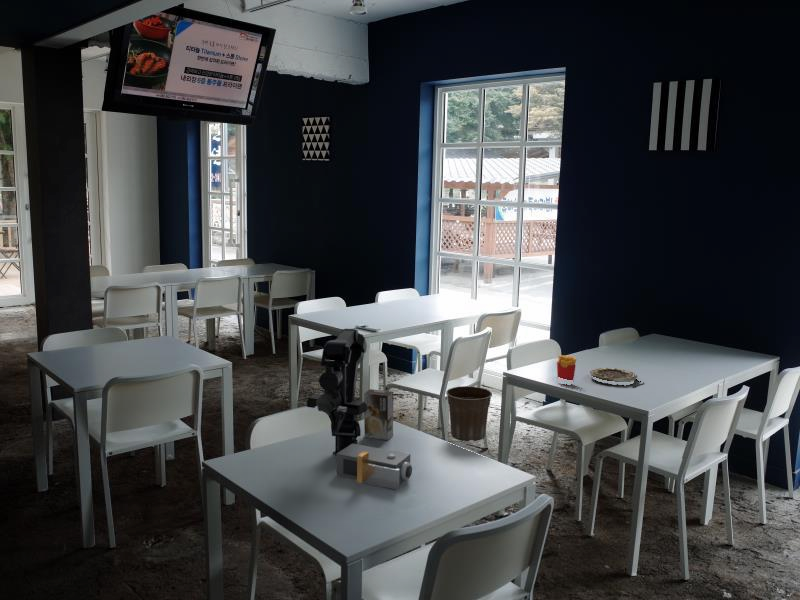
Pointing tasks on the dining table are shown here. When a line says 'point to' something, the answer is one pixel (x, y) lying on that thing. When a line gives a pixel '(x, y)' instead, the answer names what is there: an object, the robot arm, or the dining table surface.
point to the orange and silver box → (376, 473)
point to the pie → (614, 374)
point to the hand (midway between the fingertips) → (336, 431)
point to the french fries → (566, 367)
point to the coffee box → (378, 414)
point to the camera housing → (372, 461)
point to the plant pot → (468, 412)
